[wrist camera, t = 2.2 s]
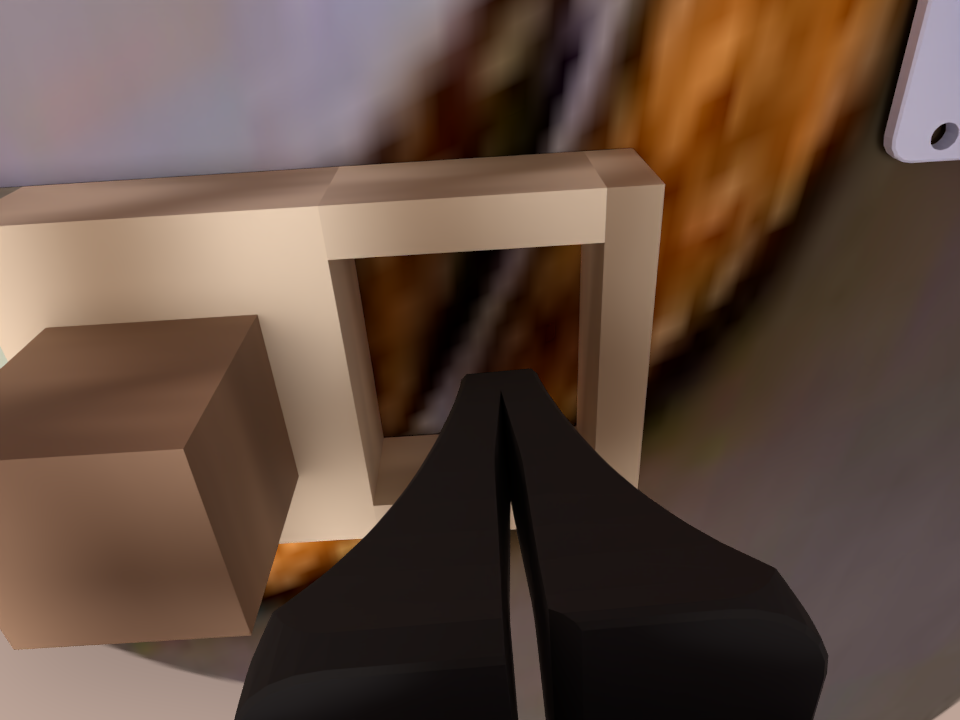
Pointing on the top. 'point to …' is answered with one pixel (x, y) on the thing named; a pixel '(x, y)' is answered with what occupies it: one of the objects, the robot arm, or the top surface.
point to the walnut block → (140, 482)
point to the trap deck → (343, 287)
